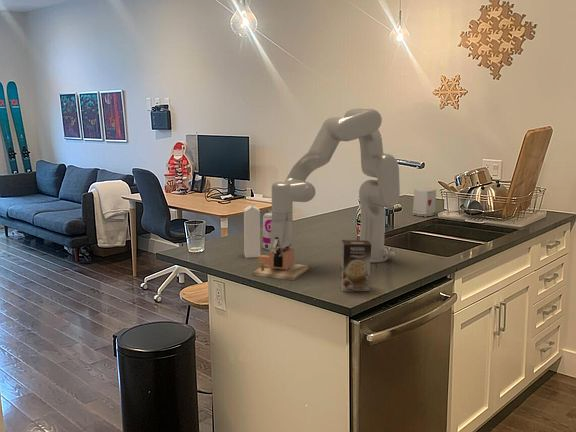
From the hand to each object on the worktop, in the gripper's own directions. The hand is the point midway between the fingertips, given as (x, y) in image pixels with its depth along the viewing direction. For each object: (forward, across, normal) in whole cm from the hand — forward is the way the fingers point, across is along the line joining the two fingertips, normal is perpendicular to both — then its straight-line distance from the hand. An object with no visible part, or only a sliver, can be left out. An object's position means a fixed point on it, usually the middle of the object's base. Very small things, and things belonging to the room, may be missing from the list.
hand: (282, 263), depth 211 cm
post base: (+3, 0, 0) cm, 3 cm away
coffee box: (+3, +9, +30) cm, 31 cm away
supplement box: (+4, -133, +31) cm, 136 cm away
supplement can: (+3, -31, -17) cm, 35 cm away
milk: (+3, -17, -20) cm, 26 cm away
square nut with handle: (+1, 0, -3) cm, 3 cm away
